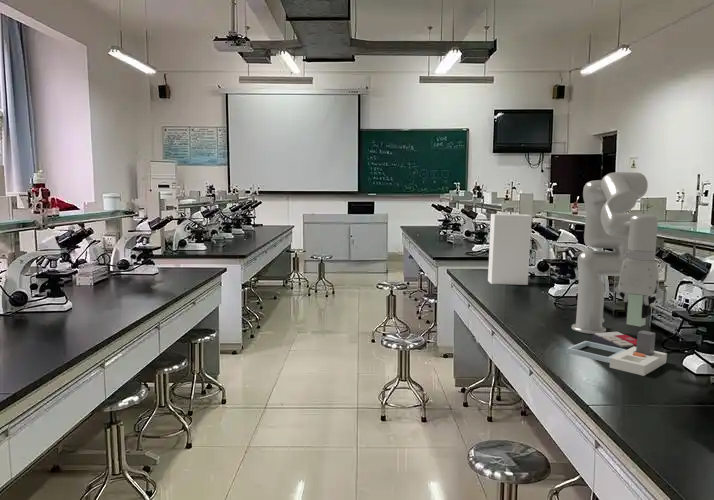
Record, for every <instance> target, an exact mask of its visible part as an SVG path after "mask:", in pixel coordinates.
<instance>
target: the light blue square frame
mask: <svg viewBox="0 0 714 500" xmlns="http://www.w3.org/2000/svg"><path fill="white" fill-rule="evenodd" d="M586 347H589V348H593V349H599V350H603V351H607V352H612V353H613V354H611V355H609V356H605V355H602V354H601V355H600V354H596V353H592V352H589V351H588V352H587V351H584V350H582V349H584V348H586ZM624 351H626V350H625V349H621V348H616V347H612V346H607V345H603V344H601V343H598V342H594V341H588V340H584V341H582V342H580V343H579V342H578V343H577V344H574V345H572V346H569V347H567V348H566V354H571V355H574V356H578V357H583V358H587V359H592V360H596V361H600V362H605V363H609V364H610V358H611V357H613V356H615V355H617V354H619V353H621V352H624Z"/></svg>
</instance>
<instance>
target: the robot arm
mask: <svg viewBox="0 0 714 500" xmlns="http://www.w3.org/2000/svg"><path fill="white" fill-rule="evenodd" d="M648 186H649V185H648V179H647V178H646V176H645V175H644V174H643V173H641V172H630V171H629V172H628V171H627V172H626V171H625V172H617V171H615V172H609V173H607V174H606V175H604V176H603V177H602V178H601V179H599V180H598V179H597V180H590V181H588V182H586V183H585V185H584V186H583V191H582V198H583V202H584V205H585V223H584V233H583V239H584V240H583V241H584V244H585V246H587V247H589V248H593V249H612V250H613V251H610V250H609V251H608V250H607V251H606V250H586V251H583V252H581V253H580V254H579V255H578V257H577V272H578V287H577V304H576V317H575V318H576V319H575V323H573V324H571V329H572V330H573V331H575V332H579V333H583V334H590V335H593V334H595V333H605V332H607V328H606V327H604V326H603V323H604V322H605V318H604V303H605V302H604V300H605V285H604V283H603V282H602V280H601V278H599V276H600V277H601V276H604V277H605V276H606V277H610V276H611V277H619V279H618V283H617V285H616V286H615V288H614V289H613V291H614V292H615V293H617V295H619V296H620V298H621V299H622V300H623V302H624V312H625V316H627V309H628V295H629V293H632V294H639V295H643V296H644V305H643V306H642V318H646V319H647V318H648V316H650V312H651V311H650V310H651V305H652V304H653V303H654V302H655V301H657V300H659V299H662V298H664V296H665V295H664V293H663V292H662V290H661V288H660V287H659V283H660V282H659V281H660V280H659V278H660V277H659V275H660V274H659V266H658V265H659V264H658V262H657V261H656V249H657V237H658V236H657V235H658V227H659V226H658V225H659V224H658V223H659V219H658V217H656V216H655V215H652V214H648V213H638V212H637V213H635V212H629V211H631V210H632V209H633V208H634V207H635V205H636V203H637V202H638V200H640V199H642V198H643V197H644V196H645V195H646V193H647V192H648ZM653 295H654V296H653Z"/></svg>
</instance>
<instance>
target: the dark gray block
mask: <svg viewBox="0 0 714 500" xmlns="http://www.w3.org/2000/svg"><path fill="white" fill-rule="evenodd" d="M636 334H637V337H636V339H637V346H636V352H637V353H642V354H645V355H648V356H652V355H654V351H655V345H656V344H655V343H656V332H652V331H648V330H644V329H643V330H640V331H638V332H637V333H636Z"/></svg>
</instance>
